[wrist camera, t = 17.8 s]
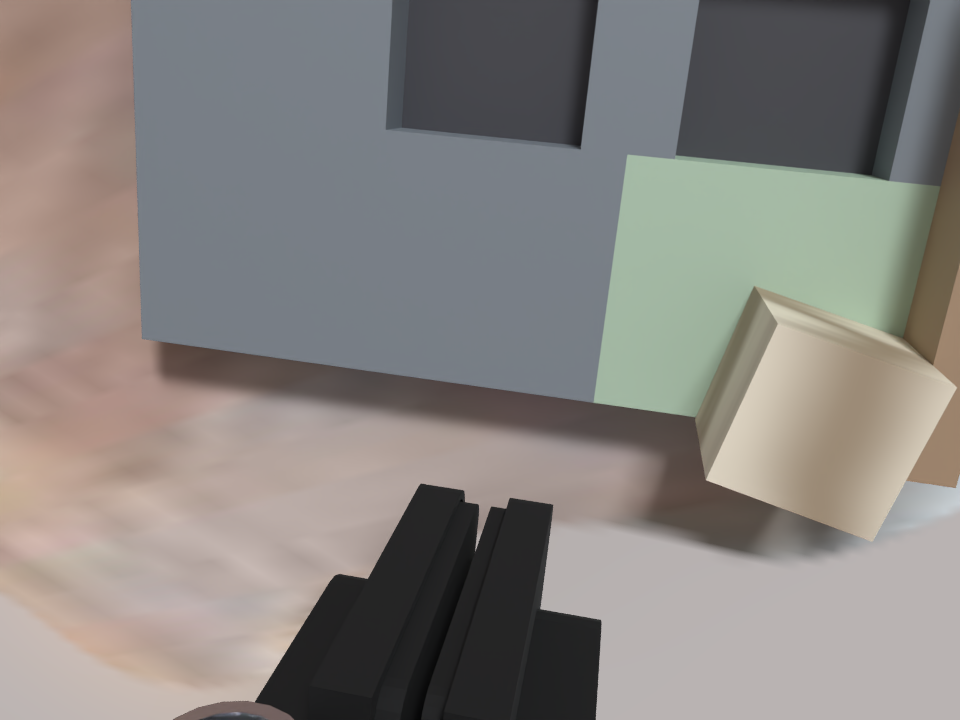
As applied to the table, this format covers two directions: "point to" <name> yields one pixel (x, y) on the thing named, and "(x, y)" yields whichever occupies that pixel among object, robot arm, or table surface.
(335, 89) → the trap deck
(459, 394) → the table surface
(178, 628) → the table surface
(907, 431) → the block
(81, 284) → the table surface
